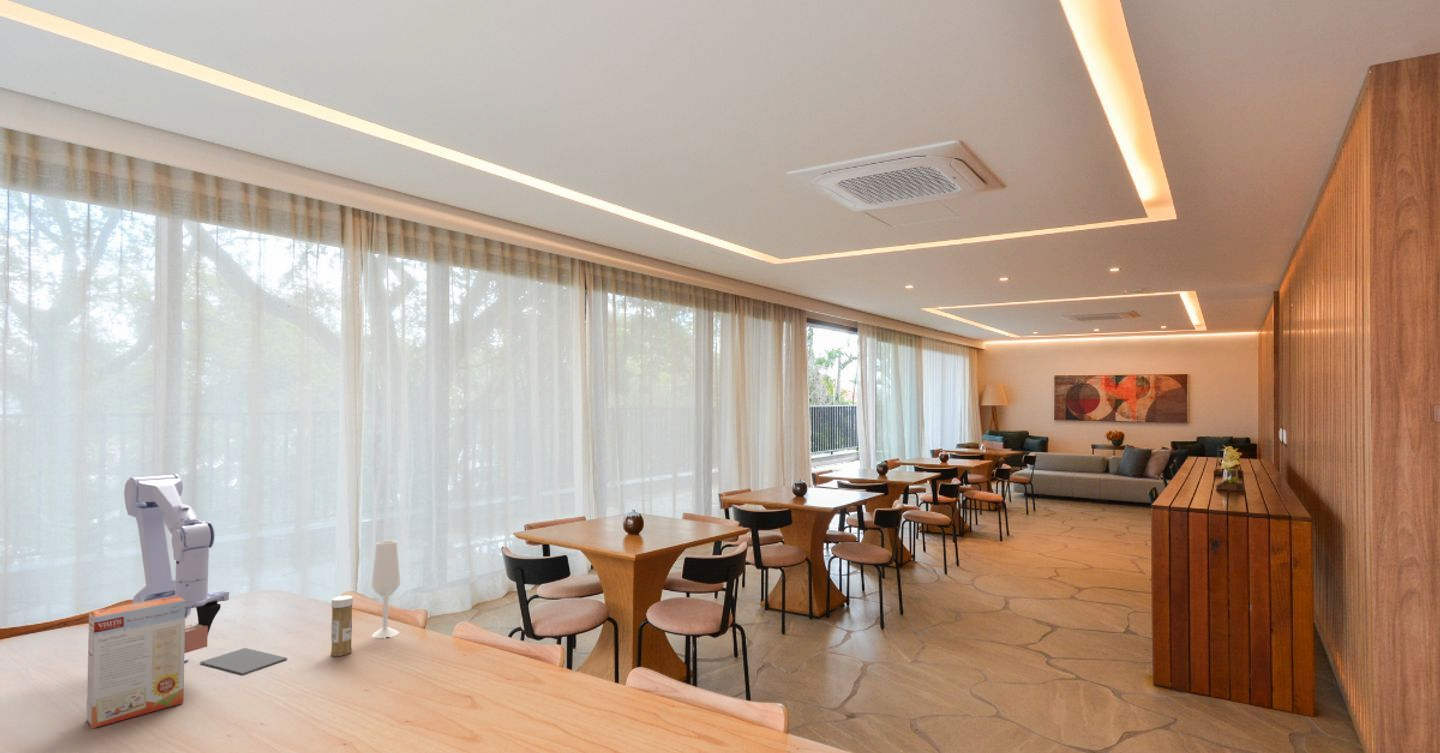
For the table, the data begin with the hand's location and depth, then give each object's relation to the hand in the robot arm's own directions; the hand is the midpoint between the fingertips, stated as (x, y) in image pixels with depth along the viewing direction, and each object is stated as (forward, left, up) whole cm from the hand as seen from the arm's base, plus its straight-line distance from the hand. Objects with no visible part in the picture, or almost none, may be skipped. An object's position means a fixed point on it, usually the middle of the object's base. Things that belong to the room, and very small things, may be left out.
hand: (189, 641), depth 150 cm
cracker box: (+8, -14, -8) cm, 18 cm away
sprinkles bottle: (+16, +24, -8) cm, 30 cm away
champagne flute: (+14, +38, -8) cm, 42 cm away
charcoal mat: (0, +11, -8) cm, 14 cm away
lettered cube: (0, 0, -1) cm, 1 cm away
